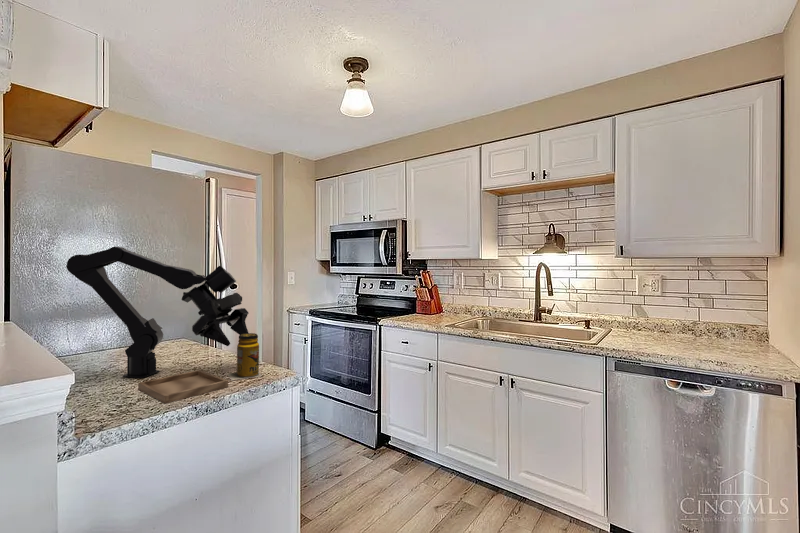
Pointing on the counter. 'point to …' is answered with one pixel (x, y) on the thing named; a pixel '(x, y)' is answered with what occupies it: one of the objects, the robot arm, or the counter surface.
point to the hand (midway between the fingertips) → (239, 341)
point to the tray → (182, 386)
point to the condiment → (247, 357)
